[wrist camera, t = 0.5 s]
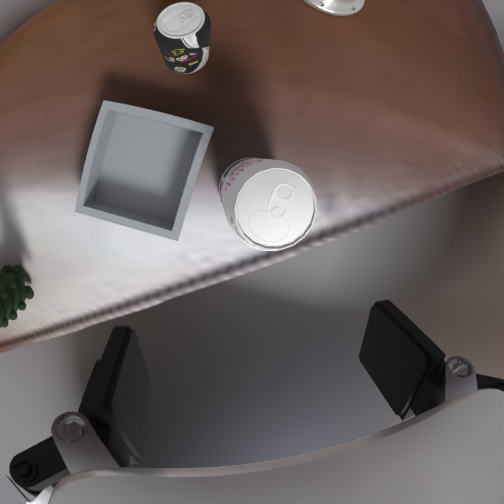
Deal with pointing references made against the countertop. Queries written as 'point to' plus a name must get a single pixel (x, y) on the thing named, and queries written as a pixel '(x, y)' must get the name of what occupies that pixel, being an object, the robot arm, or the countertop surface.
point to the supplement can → (267, 202)
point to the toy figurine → (12, 293)
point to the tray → (142, 168)
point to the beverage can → (183, 37)
